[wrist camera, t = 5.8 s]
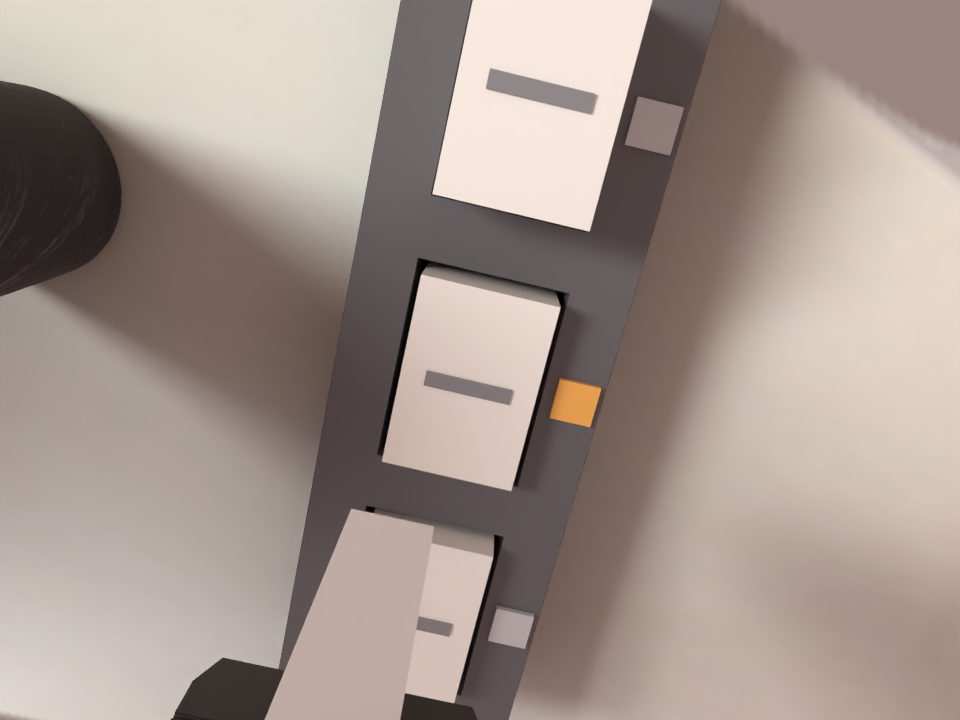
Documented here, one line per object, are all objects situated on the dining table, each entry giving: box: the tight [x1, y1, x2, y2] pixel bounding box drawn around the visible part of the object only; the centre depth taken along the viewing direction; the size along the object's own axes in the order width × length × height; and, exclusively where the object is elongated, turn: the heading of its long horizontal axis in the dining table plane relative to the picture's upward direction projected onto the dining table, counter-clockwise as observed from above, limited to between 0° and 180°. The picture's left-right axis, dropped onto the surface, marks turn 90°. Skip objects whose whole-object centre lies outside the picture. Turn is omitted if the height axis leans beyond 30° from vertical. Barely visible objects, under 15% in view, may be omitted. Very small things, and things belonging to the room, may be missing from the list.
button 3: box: [432, 0, 652, 232], centre depth 22 cm, size 4×6×5 cm
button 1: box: [374, 508, 494, 703], centre depth 29 cm, size 4×6×5 cm
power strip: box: [279, 0, 721, 720], centre depth 26 cm, size 9×36×5 cm, turn 167°
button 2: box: [382, 261, 561, 491], centre depth 26 cm, size 4×6×5 cm
